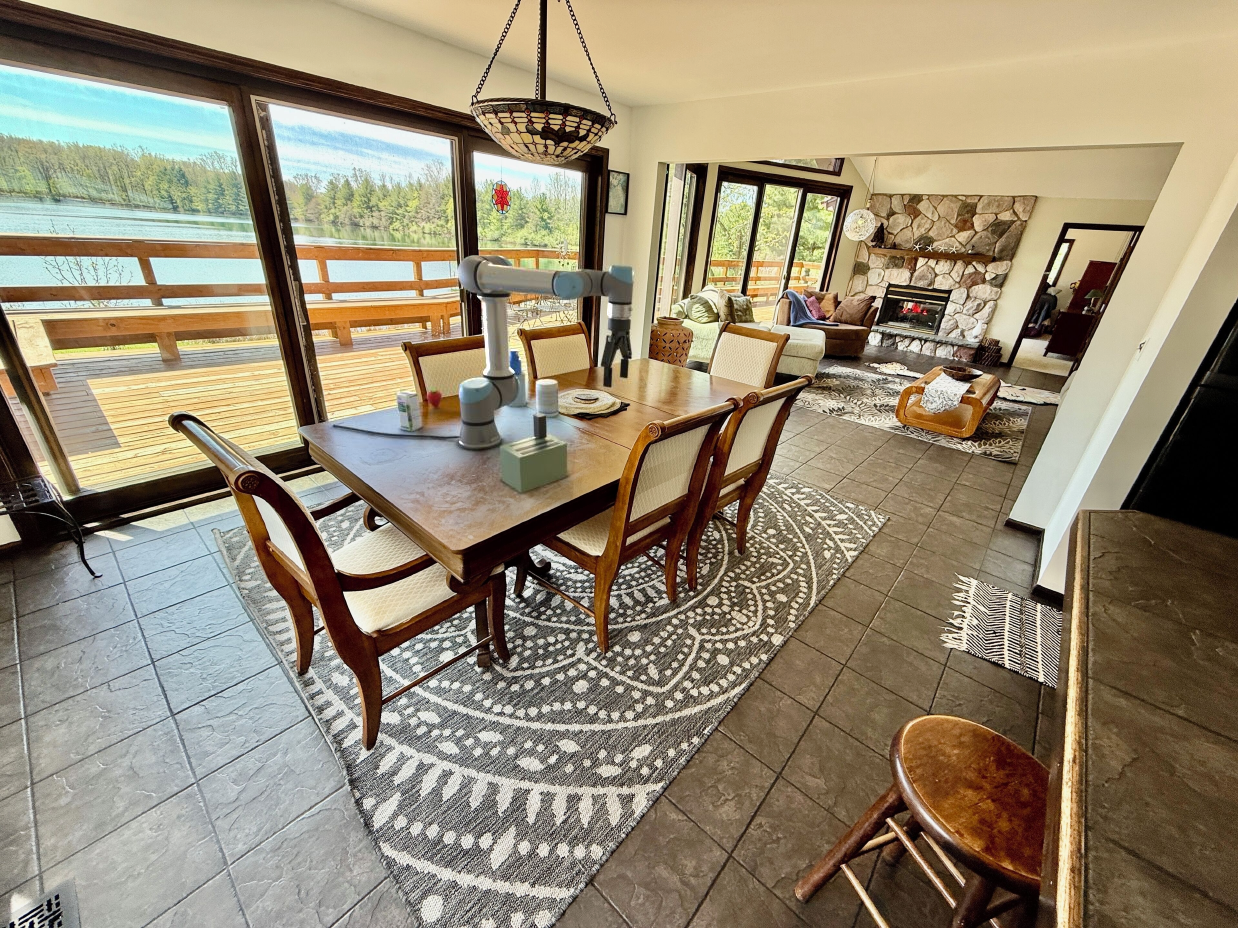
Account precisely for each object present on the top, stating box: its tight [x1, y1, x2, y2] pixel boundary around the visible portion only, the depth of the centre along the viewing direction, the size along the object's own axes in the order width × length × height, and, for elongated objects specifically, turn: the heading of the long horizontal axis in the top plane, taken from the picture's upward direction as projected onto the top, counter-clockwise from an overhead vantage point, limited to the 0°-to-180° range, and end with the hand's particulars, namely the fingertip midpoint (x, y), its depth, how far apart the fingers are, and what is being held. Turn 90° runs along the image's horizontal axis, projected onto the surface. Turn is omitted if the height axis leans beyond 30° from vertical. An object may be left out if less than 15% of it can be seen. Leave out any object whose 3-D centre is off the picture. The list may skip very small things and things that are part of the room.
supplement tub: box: [535, 378, 559, 418], centre depth 209 cm, size 10×10×15 cm
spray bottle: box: [508, 348, 527, 407], centre depth 218 cm, size 9×9×25 cm
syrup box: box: [395, 390, 422, 432], centre depth 187 cm, size 6×6×14 cm
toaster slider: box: [532, 413, 548, 439], centre depth 155 cm, size 3×3×8 cm
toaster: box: [499, 433, 568, 494], centre depth 154 cm, size 18×11×12 cm, turn 134°
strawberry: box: [426, 387, 443, 409], centre depth 211 cm, size 6×8×10 cm
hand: (615, 382), depth 163 cm, fingers open, 13 cm apart
